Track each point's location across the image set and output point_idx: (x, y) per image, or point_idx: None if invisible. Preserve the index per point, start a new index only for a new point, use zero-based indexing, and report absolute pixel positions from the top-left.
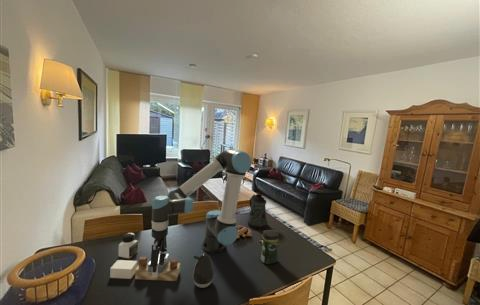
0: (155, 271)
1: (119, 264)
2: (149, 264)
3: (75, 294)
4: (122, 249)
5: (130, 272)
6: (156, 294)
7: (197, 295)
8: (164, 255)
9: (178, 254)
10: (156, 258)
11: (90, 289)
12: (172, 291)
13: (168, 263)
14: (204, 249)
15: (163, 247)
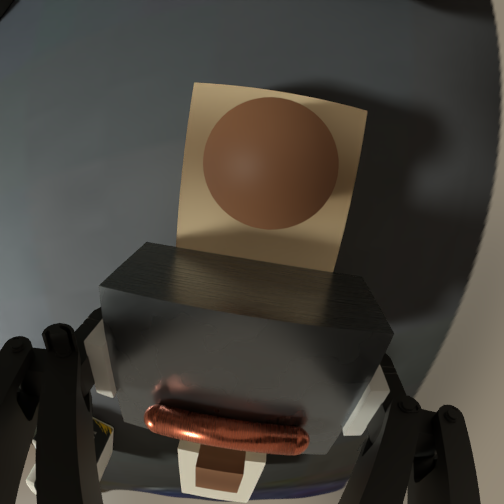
0: (387, 358)
1: (217, 490)
2: (329, 445)
3: (321, 493)
4: (100, 472)
5: None
6: (441, 258)
7: (467, 5)
8: (149, 342)
9: (16, 169)
10: (465, 488)
11: (308, 482)
12: (441, 150)
13: (195, 234)
14: (3, 7)
15: (80, 442)
